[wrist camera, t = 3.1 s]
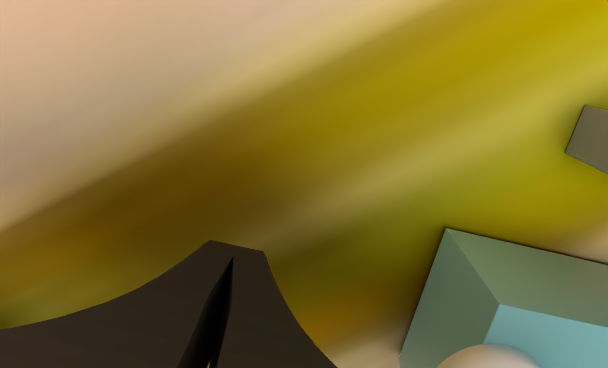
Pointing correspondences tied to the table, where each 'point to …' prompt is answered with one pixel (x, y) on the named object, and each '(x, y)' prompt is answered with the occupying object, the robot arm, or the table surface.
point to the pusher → (508, 309)
